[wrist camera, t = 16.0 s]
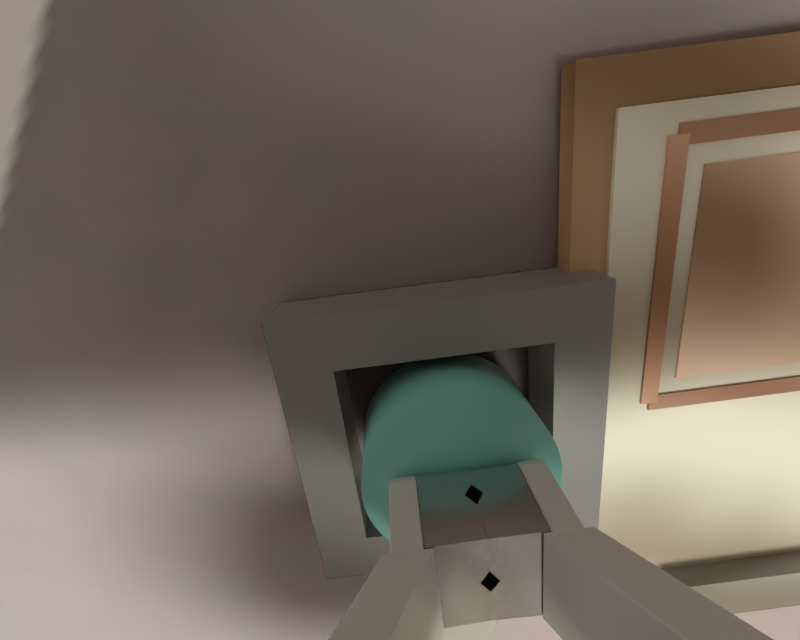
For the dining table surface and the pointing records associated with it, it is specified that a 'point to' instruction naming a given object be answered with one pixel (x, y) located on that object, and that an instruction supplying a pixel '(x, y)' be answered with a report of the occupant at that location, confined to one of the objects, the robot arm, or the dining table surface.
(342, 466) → the button housing
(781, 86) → the clipboard
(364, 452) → the button
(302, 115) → the dining table surface
